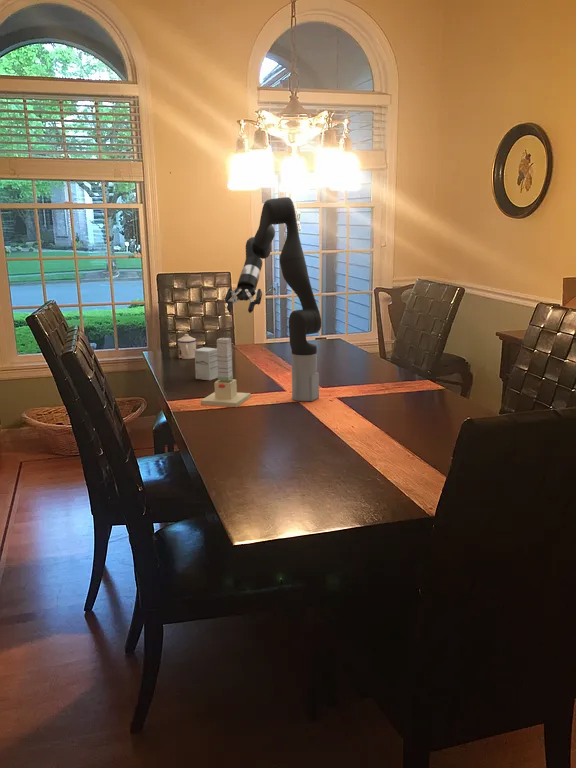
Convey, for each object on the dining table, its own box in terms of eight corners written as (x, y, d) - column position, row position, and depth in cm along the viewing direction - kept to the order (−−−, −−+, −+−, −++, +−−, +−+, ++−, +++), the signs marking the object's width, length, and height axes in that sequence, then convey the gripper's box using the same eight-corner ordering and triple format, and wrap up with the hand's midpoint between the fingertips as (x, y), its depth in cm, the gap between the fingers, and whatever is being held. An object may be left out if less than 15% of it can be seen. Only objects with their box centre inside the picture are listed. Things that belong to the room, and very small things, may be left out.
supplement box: (195, 379, 275) (193, 349, 272) (205, 375, 281) (203, 346, 278) (209, 381, 272) (208, 351, 269) (219, 377, 278) (218, 348, 275)
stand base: (250, 397, 246) (250, 377, 244) (236, 407, 233) (236, 386, 231) (216, 394, 250) (215, 375, 248) (200, 404, 237) (200, 384, 235)
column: (232, 378, 240) (231, 338, 237) (228, 380, 237) (226, 340, 233) (222, 377, 242) (220, 337, 238) (217, 380, 238) (216, 339, 234)
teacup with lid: (178, 356, 323) (177, 332, 320) (197, 355, 324) (195, 332, 322) (177, 361, 312) (176, 337, 309) (196, 360, 313) (195, 336, 310)
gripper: (229, 272, 259) (219, 304, 251) (263, 272, 254) (253, 305, 247) (235, 284, 265) (225, 316, 257) (268, 285, 261) (259, 317, 253)
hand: (239, 311), depth 252 cm, fingers open, 8 cm apart
